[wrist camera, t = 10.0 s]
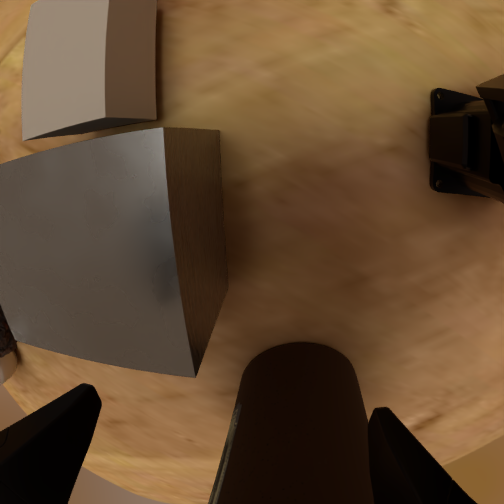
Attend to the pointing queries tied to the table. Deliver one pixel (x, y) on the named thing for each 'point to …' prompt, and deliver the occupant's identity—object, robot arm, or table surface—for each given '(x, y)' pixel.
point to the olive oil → (296, 432)
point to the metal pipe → (6, 336)
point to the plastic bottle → (7, 366)
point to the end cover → (88, 66)
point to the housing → (116, 248)
